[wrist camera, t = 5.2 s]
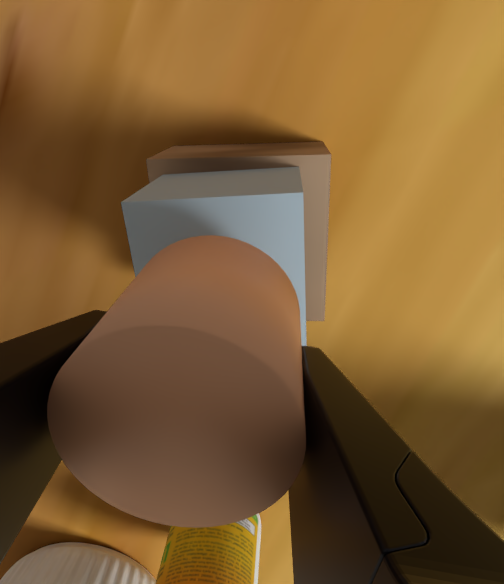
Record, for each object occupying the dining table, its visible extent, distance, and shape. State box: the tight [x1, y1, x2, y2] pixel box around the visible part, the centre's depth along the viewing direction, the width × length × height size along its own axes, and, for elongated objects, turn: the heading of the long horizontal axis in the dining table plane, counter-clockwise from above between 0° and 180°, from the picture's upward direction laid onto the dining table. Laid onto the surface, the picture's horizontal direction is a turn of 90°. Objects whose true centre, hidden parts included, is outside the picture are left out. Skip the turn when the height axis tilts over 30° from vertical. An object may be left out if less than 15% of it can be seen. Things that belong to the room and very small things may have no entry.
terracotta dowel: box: [47, 235, 306, 528], centre depth 8 cm, size 4×4×4 cm
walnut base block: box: [146, 142, 331, 321], centre depth 17 cm, size 6×6×4 cm
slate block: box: [121, 167, 306, 346], centre depth 13 cm, size 4×4×4 cm
